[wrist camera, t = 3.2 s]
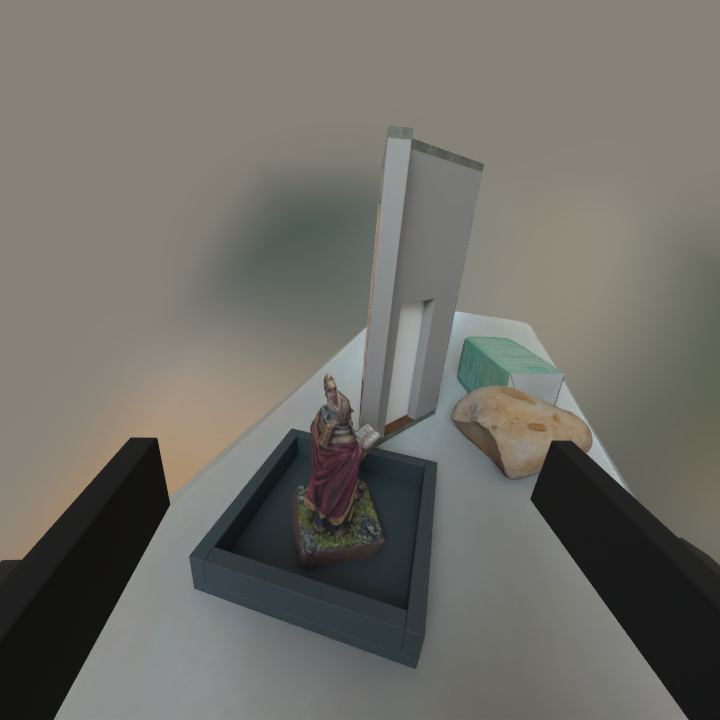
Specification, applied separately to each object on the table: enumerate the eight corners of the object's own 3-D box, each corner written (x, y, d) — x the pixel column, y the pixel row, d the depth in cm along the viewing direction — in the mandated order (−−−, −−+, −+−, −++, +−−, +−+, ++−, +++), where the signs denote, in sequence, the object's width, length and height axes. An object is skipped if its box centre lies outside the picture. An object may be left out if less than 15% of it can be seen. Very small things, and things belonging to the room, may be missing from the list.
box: (497, 378, 55) (509, 335, 52) (549, 426, 42) (568, 373, 39) (454, 377, 54) (464, 333, 51) (495, 427, 41) (510, 372, 38)
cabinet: (362, 373, 52) (381, 169, 41) (424, 379, 52) (459, 176, 41) (356, 463, 33) (388, 125, 22) (453, 472, 33) (534, 138, 22)
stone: (574, 420, 39) (614, 396, 32) (563, 512, 35) (606, 507, 28) (459, 385, 43) (472, 355, 36) (436, 464, 38) (445, 449, 31)
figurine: (295, 571, 22) (296, 416, 17) (291, 495, 28) (291, 363, 23) (388, 556, 23) (413, 409, 18) (366, 486, 29) (380, 361, 24)
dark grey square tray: (194, 588, 21) (188, 556, 20) (291, 453, 34) (291, 428, 32) (415, 669, 18) (424, 636, 17) (431, 488, 31) (437, 462, 30)
